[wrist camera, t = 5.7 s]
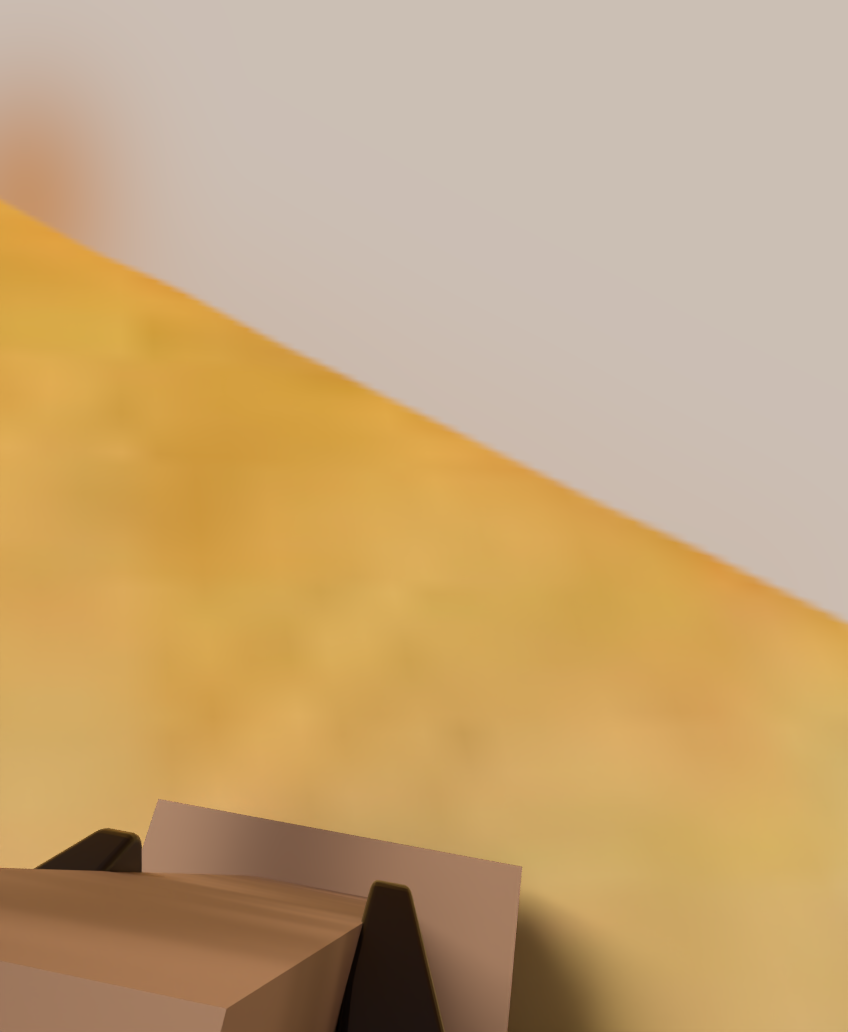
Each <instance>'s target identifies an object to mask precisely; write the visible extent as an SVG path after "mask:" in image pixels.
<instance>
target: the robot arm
mask: <svg viewBox="0 0 848 1032" xmlns="http://www.w3.org/2000/svg"><path fill="white" fill-rule="evenodd" d="M34 869H50V870H84V871H108V872H142V845H141V840H140V838H139V836H138V835H136V834H135V833H131V832H126V831H120V830H115V829H110V828H105V829H101V830H98V831H96V832H94V833H93V834H91V835H89V836H88V837H86V838H84V839H83V840H81V841H79V842H78V843H76V844H74V845H73V846H71V847H69V848H68V849H66V850H64V851H63V852H61V853H59V854H58V855H56V856H54V857H53V858H51V859H49V860H48V861H46V862H44V863H43V864H41V865H39V866H38V867H36V868H34ZM361 922H363V925H362V928H361V932H360V936H359V939H358V943H357V947H356V951H355V954H354V958H353V962H352V965H351V969H350V973H349V977H348V980H347V984H346V988H345V992H344V996H343V1000H342V1004H341V1009H340V1015H339V1024H338V1032H445V1030H444V1026H443V1022H442V1018H441V1013H440V1009H439V1005H438V1001H437V997H436V992H435V988H434V984H433V980H432V976H431V972H430V967H429V963H428V959H427V955H426V951H425V946H424V942H423V938H422V934H421V930H420V925H419V921H418V917H417V913H416V909H415V905H414V900H413V896H412V893H411V890H410V889H409V887H408V886H406V885H402V884H397V883H392V882H386V881H381V880H376V881H374V882H373V883H372V885H371V887H370V891H369V894H368V898H367V901H366V905H365V909H364V912H363V916H362V920H361Z"/></svg>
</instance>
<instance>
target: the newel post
mask: <svg viewBox="0 0 848 1032" xmlns="http://www.w3.org/2000/svg"><path fill="white" fill-rule="evenodd" d="M521 872H522V867H521V866H515V865H510V864H504V863H499V862H494V861H488V860H483V859H478V858H472V857H467V856H461V855H456V854H451V853H445V852H440V851H435V850H429V849H424V848H419V847H413V846H408V845H402V844H397V843H392V842H386V841H381V840H376V839H370V838H365V837H359V836H354V835H349V834H343V833H338V832H333V831H327V830H322V829H317V828H311V827H306V826H300V825H295V824H290V823H284V822H279V821H274V820H268V819H263V818H258V817H252V816H247V815H241V814H236V813H231V812H225V811H220V810H215V809H209V808H204V807H198V806H193V805H188V804H182V803H177V802H172V801H166V800H161V799H158V802H157V805H156V808H155V811H154V814H153V817H152V820H151V823H150V826H149V830H148V833H147V836H146V839H145V842H144V845H143V848H142V872H108V871H84V870H50V869H17V868H0V1032H338V1024H339V1015H340V1009H341V1004H342V1000H343V996H344V992H345V988H346V984H347V980H348V977H349V973H350V969H351V965H352V962H353V958H354V954H355V951H356V947H357V943H358V939H359V936H360V932H361V928H362V925H363V922H361V920H362V916H363V912H364V909H365V905H366V901H367V898H368V894H369V891H370V887H371V885H372V883H373V882H374V881H376V880H381V881H386V882H392V883H397V884H402V885H406V886H408V887H409V889H410V890H411V893H412V896H413V900H414V905H415V909H416V913H417V917H418V921H419V925H420V930H421V934H422V938H423V942H424V946H425V951H426V955H427V959H428V963H429V967H430V972H431V976H432V980H433V984H434V988H435V992H436V997H437V1001H438V1005H439V1009H440V1013H441V1018H442V1022H443V1026H444V1030H445V1032H507V1030H508V1019H509V1008H510V996H511V985H512V974H513V963H514V951H515V940H516V929H517V917H518V906H519V895H520V884H521Z"/></svg>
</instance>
